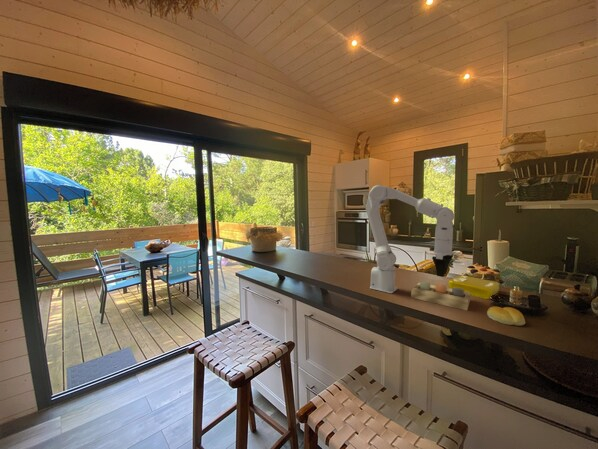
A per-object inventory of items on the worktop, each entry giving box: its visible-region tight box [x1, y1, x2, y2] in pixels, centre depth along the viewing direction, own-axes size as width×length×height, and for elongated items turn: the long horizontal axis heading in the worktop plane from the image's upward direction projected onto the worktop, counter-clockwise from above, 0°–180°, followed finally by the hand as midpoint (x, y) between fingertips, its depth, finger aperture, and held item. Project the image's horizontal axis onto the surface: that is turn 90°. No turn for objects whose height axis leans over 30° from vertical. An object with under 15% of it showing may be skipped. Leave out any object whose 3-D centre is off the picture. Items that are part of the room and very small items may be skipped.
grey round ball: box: [452, 288, 464, 297], centre depth 89 cm, size 4×4×4 cm
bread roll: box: [486, 305, 526, 327], centre depth 76 cm, size 8×9×4 cm
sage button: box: [419, 281, 431, 291], centre depth 96 cm, size 4×4×4 cm
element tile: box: [447, 274, 500, 300], centre depth 103 cm, size 15×15×5 cm
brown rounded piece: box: [435, 284, 447, 294], centre depth 93 cm, size 4×4×4 cm
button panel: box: [410, 282, 471, 311], centre depth 93 cm, size 18×12×3 cm, turn 51°
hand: (441, 274), depth 92 cm, fingers open, 4 cm apart
